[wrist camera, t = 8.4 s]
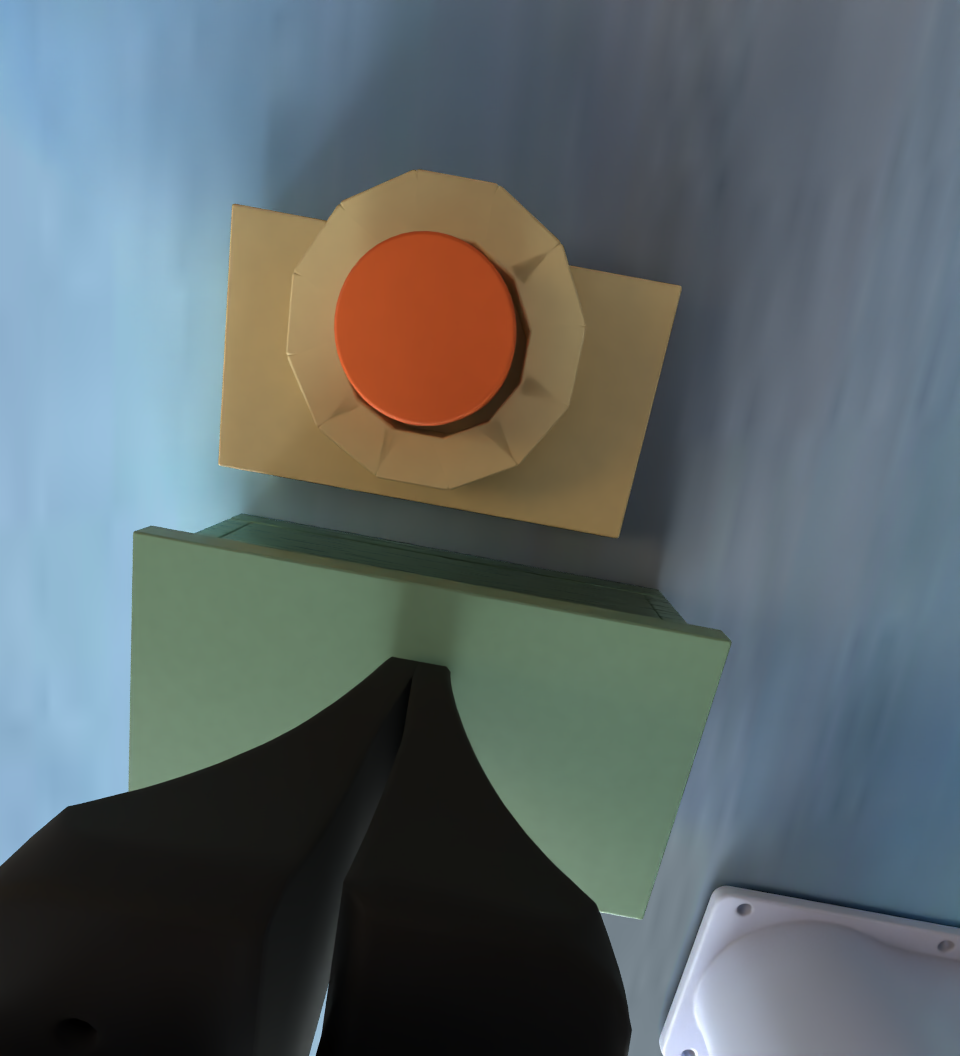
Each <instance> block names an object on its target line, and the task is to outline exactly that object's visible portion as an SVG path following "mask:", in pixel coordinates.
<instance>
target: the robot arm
mask: <svg viewBox="0 0 960 1056" xmlns="http://www.w3.org/2000/svg"><path fill="white" fill-rule="evenodd" d="M450 674H451V672H450V671H449V669H448V668H447V667H446V666H441V665H435V664H430V663H425V662H419V661H414V660H408V659H403V658H397V657H390V658H389V659H387V660H386V661H385V662H384V663H382V664H381V665H380V666H379V667H378V668H377V669H376V670H374V671H373V672H372V673H371V674H370V675H369V676H367V677H366V678H365V679H364V680H363V681H361V682H360V683H359V684H358V685H356V686H355V687H354V688H352V689H351V690H350V691H349V692H347V693H346V694H345V695H343V696H342V697H341V698H339V699H338V700H337V701H335V702H334V703H332V704H331V705H329V706H328V707H326V708H325V709H323V710H322V711H320V712H319V713H317V714H316V715H314V716H313V717H311V718H310V719H308V720H307V721H305V722H304V723H302V724H300V725H299V726H297V727H295V728H293V729H292V730H290V731H288V732H286V733H284V734H282V735H280V736H278V737H276V738H274V739H273V740H270V741H268V742H266V743H264V744H262V745H260V746H257V747H255V748H253V749H250V750H248V751H246V752H244V753H241V754H239V755H237V756H234V757H232V758H230V759H227V760H225V761H223V762H220V763H218V764H215V765H212V766H210V767H207V768H204V769H201V770H198V771H196V772H193V773H190V774H187V775H184V776H181V777H178V778H175V779H172V780H168V781H165V782H162V783H159V784H155V785H152V786H149V787H145V788H142V789H138V790H134V791H130V792H126V793H122V794H118V795H114V796H110V797H106V798H102V799H98V800H94V801H90V802H86V803H82V804H77V805H73V806H68V807H66V808H65V809H64V810H63V811H62V812H60V813H59V814H58V815H57V816H56V817H55V818H53V819H52V820H51V821H50V822H49V823H47V824H46V825H45V826H44V827H43V828H42V829H40V830H39V831H38V832H37V833H36V834H34V835H33V836H32V837H31V838H30V839H29V840H28V841H27V842H26V843H25V844H24V845H23V846H22V847H20V848H19V849H18V850H17V851H16V852H15V853H14V854H13V855H12V856H11V857H10V858H9V859H8V860H7V861H6V862H4V863H3V864H2V865H1V866H0V1056H309V1053H310V1050H311V1046H312V1042H313V1039H314V1035H315V1031H316V1028H317V1024H318V1020H319V1017H320V1013H321V1010H322V1006H323V1002H324V999H325V995H326V991H327V988H328V993H327V1001H326V1008H325V1015H324V1022H323V1029H322V1035H321V1039H320V1042H319V1046H318V1049H317V1053H316V1056H628V1051H629V1044H630V1038H631V1032H632V1028H631V1023H630V1019H629V1012H628V1005H627V1000H626V994H625V990H624V986H623V982H622V978H621V974H620V971H619V967H618V964H617V961H616V958H615V955H614V952H613V949H612V946H611V943H610V940H609V937H608V934H607V931H606V928H605V925H604V923H603V920H602V917H601V914H600V912H599V909H598V906H597V905H596V903H595V902H594V901H593V900H592V899H591V898H590V897H589V896H588V895H587V894H586V893H584V892H583V891H582V890H581V889H580V888H579V887H578V886H577V885H576V884H575V883H574V882H573V881H572V880H571V879H570V878H569V877H567V876H566V875H565V874H564V873H563V872H562V871H561V870H560V869H559V868H558V867H557V866H556V865H555V864H554V863H553V862H552V861H551V860H550V859H549V858H548V857H547V856H546V855H545V854H544V853H543V852H542V850H541V849H540V848H539V847H538V846H537V845H536V844H535V843H534V842H533V840H532V839H531V838H530V837H529V836H528V835H527V834H526V832H525V831H524V830H523V828H522V827H521V826H520V825H519V823H518V822H517V821H516V819H515V818H514V817H513V815H512V814H511V813H510V811H509V810H508V809H507V807H506V806H505V805H504V803H503V802H502V800H501V799H500V797H499V795H498V794H497V792H496V791H495V789H494V788H493V786H492V784H491V783H490V781H489V779H488V777H487V776H486V774H485V772H484V770H483V769H482V767H481V765H480V763H479V761H478V759H477V757H476V755H475V753H474V750H473V748H472V746H471V744H470V741H469V739H468V737H467V734H466V732H465V729H464V727H463V724H462V721H461V718H460V715H459V712H458V709H457V706H456V703H455V699H454V695H453V691H452V686H451V677H450ZM328 984H329V986H328ZM659 1044H660V1048H661V1052H662V1054H663V1056H960V928H956V927H951V926H945V925H940V924H935V923H929V922H924V921H918V920H913V919H907V918H902V917H896V916H891V915H885V914H880V913H874V912H869V911H864V910H858V909H853V908H847V907H842V906H836V905H831V904H825V903H820V902H814V901H809V900H803V899H798V898H793V897H787V896H782V895H776V894H771V893H765V892H760V891H754V890H749V889H743V888H738V887H732V886H721V887H718V888H717V889H716V890H714V892H713V893H712V895H711V898H710V901H709V903H708V906H707V909H706V912H705V914H704V917H703V920H702V923H701V925H700V928H699V931H698V934H697V936H696V939H695V942H694V945H693V947H692V950H691V953H690V956H689V958H688V961H687V964H686V967H685V969H684V972H683V975H682V978H681V980H680V983H679V986H678V989H677V991H676V994H675V997H674V1000H673V1002H672V1005H671V1008H670V1011H669V1013H668V1016H667V1019H666V1022H665V1024H664V1027H663V1030H662V1033H661V1035H660V1038H659Z"/></svg>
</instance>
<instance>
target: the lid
mask: <svg viewBox="0 0 960 1056" xmlns="http://www.w3.org/2000/svg"><path fill="white" fill-rule="evenodd" d="M730 646H731V640H730V639H729V638H728V637H727V636H726V635H725V634H724V633H723V632H722V631H721V630H717V629H712V628H706V627H701V626H695V625H690V624H685V623H679V622H674V621H668V620H663V619H657V618H652V617H646V616H641V615H636V614H630V613H625V612H619V611H614V610H608V609H603V608H597V607H592V606H586V605H581V604H576V603H570V602H565V601H559V600H554V599H548V598H543V597H537V596H532V595H526V594H521V593H516V592H510V591H505V590H499V589H494V588H488V587H483V586H477V585H472V584H467V583H461V582H456V581H450V580H445V579H439V578H434V577H428V576H423V575H417V574H412V573H407V572H401V571H396V570H390V569H385V568H379V567H374V566H368V565H363V564H358V563H352V562H347V561H341V560H336V559H330V558H325V557H319V556H314V555H308V554H303V553H298V552H292V551H287V550H281V549H276V548H270V547H265V546H259V545H254V544H248V543H243V542H238V541H232V540H227V539H221V538H216V537H210V536H205V535H199V534H194V533H189V532H183V531H178V530H172V529H167V528H161V527H156V526H149V527H146V528H143V529H140V530H137V531H134V533H133V575H132V630H131V685H130V739H129V792H130V791H134V790H138V789H142V788H145V787H149V786H152V785H155V784H159V783H162V782H165V781H168V780H172V779H175V778H178V777H181V776H184V775H187V774H190V773H193V772H196V771H198V770H201V769H204V768H207V767H210V766H212V765H215V764H218V763H220V762H223V761H225V760H227V759H230V758H232V757H234V756H237V755H239V754H241V753H244V752H246V751H248V750H250V749H253V748H255V747H257V746H260V745H262V744H264V743H266V742H268V741H270V740H273V739H274V738H276V737H278V736H280V735H282V734H284V733H286V732H288V731H290V730H292V729H293V728H295V727H297V726H299V725H300V724H302V723H304V722H305V721H307V720H308V719H310V718H311V717H313V716H314V715H316V714H317V713H319V712H320V711H322V710H323V709H325V708H326V707H328V706H329V705H331V704H332V703H334V702H335V701H337V700H338V699H339V698H341V697H342V696H343V695H345V694H346V693H347V692H349V691H350V690H351V689H352V688H354V687H355V686H356V685H358V684H359V683H360V682H361V681H363V680H364V679H365V678H366V677H367V676H369V675H370V674H371V673H372V672H373V671H374V670H376V669H377V668H378V667H379V666H380V665H381V664H382V663H384V662H385V661H386V660H387V659H389V658H390V657H397V658H403V659H408V660H414V661H419V662H425V663H430V664H435V665H441V666H446V667H447V668H448V669H449V671H450V672H451V674H450V677H451V686H452V691H453V695H454V699H455V703H456V706H457V709H458V712H459V715H460V718H461V721H462V724H463V727H464V729H465V732H466V734H467V737H468V739H469V741H470V744H471V746H472V748H473V750H474V753H475V755H476V757H477V759H478V761H479V763H480V765H481V767H482V769H483V770H484V772H485V774H486V776H487V777H488V779H489V781H490V783H491V784H492V786H493V788H494V789H495V791H496V792H497V794H498V795H499V797H500V799H501V800H502V802H503V803H504V805H505V806H506V807H507V809H508V810H509V811H510V813H511V814H512V815H513V817H514V818H515V819H516V821H517V822H518V823H519V825H520V826H521V827H522V828H523V830H524V831H525V832H526V834H527V835H528V836H529V837H530V838H531V839H532V840H533V842H534V843H535V844H536V845H537V846H538V847H539V848H540V849H541V850H542V852H543V853H544V854H545V855H546V856H547V857H548V858H549V859H550V860H551V861H552V862H553V863H554V864H555V865H556V866H557V867H558V868H559V869H560V870H561V871H562V872H563V873H564V874H565V875H566V876H567V877H569V878H570V879H571V880H572V881H573V882H574V883H575V884H576V885H577V886H578V887H579V888H580V889H581V890H582V891H583V892H584V893H586V894H587V895H588V896H589V897H590V898H591V899H592V900H593V901H594V902H595V903H596V905H597V906H598V909H599V912H603V913H608V914H613V915H619V916H624V917H630V918H635V919H643V917H644V914H645V911H646V908H647V904H648V901H649V898H650V895H651V892H652V889H653V886H654V883H655V880H656V876H657V873H658V870H659V867H660V864H661V861H662V858H663V855H664V852H665V848H666V845H667V842H668V839H669V836H670V833H671V830H672V827H673V824H674V820H675V817H676V814H677V811H678V808H679V805H680V802H681V799H682V796H683V792H684V789H685V786H686V783H687V780H688V777H689V774H690V771H691V768H692V764H693V761H694V758H695V755H696V752H697V749H698V746H699V743H700V740H701V736H702V733H703V730H704V727H705V724H706V721H707V718H708V715H709V712H710V708H711V705H712V702H713V699H714V696H715V693H716V690H717V687H718V684H719V680H720V677H721V674H722V671H723V668H724V665H725V662H726V659H727V656H728V652H729V649H730Z"/></svg>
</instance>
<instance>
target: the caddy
mask: <svg viewBox="0 0 960 1056" xmlns="http://www.w3.org/2000/svg"><path fill="white" fill-rule="evenodd" d="M194 534H199V535H205V536H210V537H216V538H221V539H227V540H232V541H238V542H243V543H248V544H254V545H259V546H265V547H270V548H276V549H281V550H287V551H292V552H298V553H303V554H308V555H314V556H319V557H325V558H330V559H336V560H341V561H347V562H352V563H358V564H363V565H368V566H374V567H379V568H385V569H390V570H396V571H401V572H407V573H412V574H417V575H423V576H428V577H434V578H439V579H445V580H450V581H456V582H461V583H467V584H472V585H477V586H483V587H488V588H494V589H499V590H505V591H510V592H516V593H521V594H526V595H532V596H537V597H543V598H548V599H554V600H559V601H565V602H570V603H576V604H581V605H586V606H592V607H597V608H603V609H608V610H614V611H619V612H625V613H630V614H636V615H641V616H646V617H652V618H657V619H663V620H668V621H674V622H679V623H685V624H687V623H686V622H685V621H684V619H683V618H682V617H681V616H680V615H679V613H678V612H677V611H676V610H675V609H674V608H673V606H672V605H671V604H670V603H669V602H668V600H667V599H665V597H664V596H663V595H662V593H661V592H660V591H659V590H656V589H651V588H645V587H640V586H634V585H629V584H624V583H618V582H613V581H607V580H602V579H596V578H591V577H585V576H580V575H575V574H569V573H564V572H558V571H553V570H547V569H542V568H536V567H531V566H525V565H520V564H515V563H509V562H504V561H498V560H493V559H487V558H482V557H476V556H471V555H466V554H460V553H455V552H449V551H444V550H438V549H433V548H427V547H422V546H416V545H411V544H406V543H400V542H395V541H389V540H384V539H378V538H373V537H367V536H362V535H357V534H351V533H346V532H340V531H335V530H329V529H324V528H318V527H313V526H307V525H302V524H297V523H291V522H286V521H280V520H275V519H269V518H264V517H258V516H253V515H248V514H239V515H237V516H234V517H232V518H231V519H228V520H225V521H223V522H220V523H218V524H216V525H213V526H211V527H209V528H206V529H204V530H201V531H199V532H197V533H194Z"/></svg>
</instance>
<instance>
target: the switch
mask: <svg viewBox="0 0 960 1056" xmlns="http://www.w3.org/2000/svg"><path fill="white" fill-rule="evenodd" d="M334 335H335V344H336V349H337V354H338V357H339V360H340V363H341V366H342V368H343V370H344V372H345V374H346V376H347V378H348V379H349V381H350V383H351V384H352V386H353V387H354V389H355V390H356V391H357V392H358V393H359V395H360V396H361V397H362V398H363V399H364V400H365V401H366V402H367V403H368V404H369V405H371V406H372V407H373V408H375V409H376V410H377V411H379V412H380V413H382V414H384V415H386V416H388V417H389V418H392V419H394V420H397V421H399V422H403V423H407V424H411V425H418V426H437V425H443V424H448V423H451V422H454V421H458V420H460V419H463V418H465V417H468V416H470V415H472V414H474V413H475V412H477V411H478V410H480V409H481V408H483V407H484V406H485V405H486V404H487V403H489V402H490V400H491V399H492V398H493V397H494V396H495V395H496V394H497V392H498V391H499V390H500V388H501V387H502V385H503V383H504V381H505V380H506V378H507V375H508V373H509V370H510V368H511V364H512V360H513V356H514V351H515V345H516V337H517V324H516V316H515V309H514V305H513V301H512V298H511V295H510V293H509V290H508V288H507V285H506V284H505V282H504V280H503V278H502V276H501V275H500V273H499V272H498V270H497V269H496V268H495V266H494V265H493V264H492V263H491V262H490V261H489V260H488V258H487V257H486V256H485V255H484V254H482V253H481V252H480V251H479V250H477V249H476V248H475V247H473V246H472V245H470V244H468V243H467V242H465V241H463V240H461V239H459V238H456V237H454V236H452V235H448V234H444V233H440V232H433V231H413V232H408V233H402V234H399V235H396V236H393V237H390V238H388V239H386V240H384V241H382V242H381V243H379V244H377V245H376V246H374V247H373V248H372V249H370V250H369V251H368V252H367V253H366V254H365V255H364V256H362V257H361V258H360V259H359V261H358V262H357V263H356V264H355V266H354V267H353V268H352V269H351V271H350V273H349V274H348V276H347V278H346V279H345V281H344V284H343V286H342V288H341V290H340V293H339V297H338V300H337V304H336V310H335V316H334Z"/></svg>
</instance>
